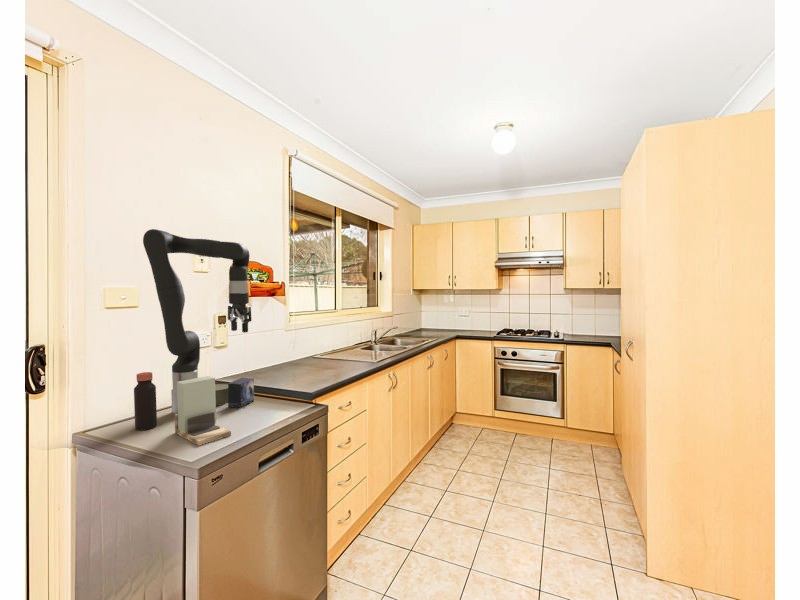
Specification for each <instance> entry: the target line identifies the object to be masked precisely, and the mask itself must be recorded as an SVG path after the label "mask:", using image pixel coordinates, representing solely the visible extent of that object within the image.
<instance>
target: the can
mask: <svg viewBox="0 0 800 600" xmlns="http://www.w3.org/2000/svg"><path fill="white" fill-rule="evenodd" d="M215 397H216V405H218V406H223V405H226V404H225V403H227V404H228V383H215ZM222 404H223V405H222Z"/></svg>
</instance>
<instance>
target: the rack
mask: <svg viewBox="0 0 800 600" xmlns="http://www.w3.org/2000/svg"><path fill="white" fill-rule="evenodd" d="M174 433H175V434H177V435H178V434H179V435H178V436H180V437H182V438H184V439H185V440H187V439H188V441H189V440H190V442H191V443H193V444H195V445H196V444H197V446H202V444H203V445H206V444H208V442H209V443H211V441H212V442H215V441H217V440H221V439H224V438H223V437H225V438H227V437H226V436H228V437H230V436H229V435H231V436H232V431H231V430H229V429H227V428H225V427H223V426H220V425H218V424H217V423H216V424H215V412H212V413H208V414H204V415H200V416H196V417H193V418H189V419H188V432H186V433H184V432H182V431H180V430H178V414H176V415H175V414H174ZM214 440H215V441H214ZM205 443H206V444H205Z"/></svg>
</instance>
